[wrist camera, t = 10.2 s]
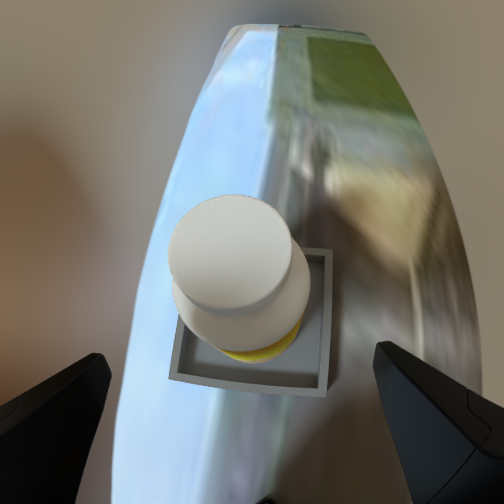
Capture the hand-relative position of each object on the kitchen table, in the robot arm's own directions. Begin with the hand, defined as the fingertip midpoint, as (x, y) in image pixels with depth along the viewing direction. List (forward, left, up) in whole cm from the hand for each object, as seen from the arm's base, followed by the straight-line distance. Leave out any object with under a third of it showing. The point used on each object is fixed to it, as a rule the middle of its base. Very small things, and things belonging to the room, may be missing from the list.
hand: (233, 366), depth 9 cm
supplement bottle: (+3, +3, -13) cm, 14 cm away
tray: (+3, +3, -14) cm, 14 cm away
